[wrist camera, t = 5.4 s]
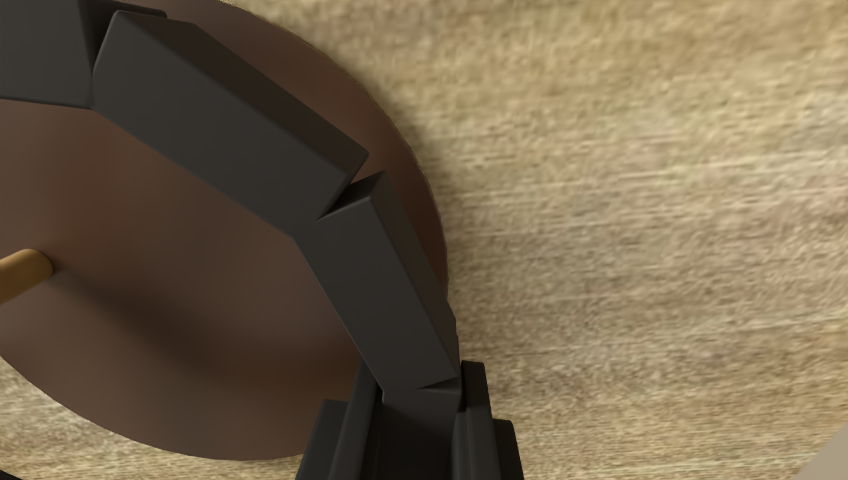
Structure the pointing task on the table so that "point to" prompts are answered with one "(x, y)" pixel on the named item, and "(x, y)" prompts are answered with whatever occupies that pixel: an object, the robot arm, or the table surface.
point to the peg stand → (182, 267)
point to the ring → (262, 188)
